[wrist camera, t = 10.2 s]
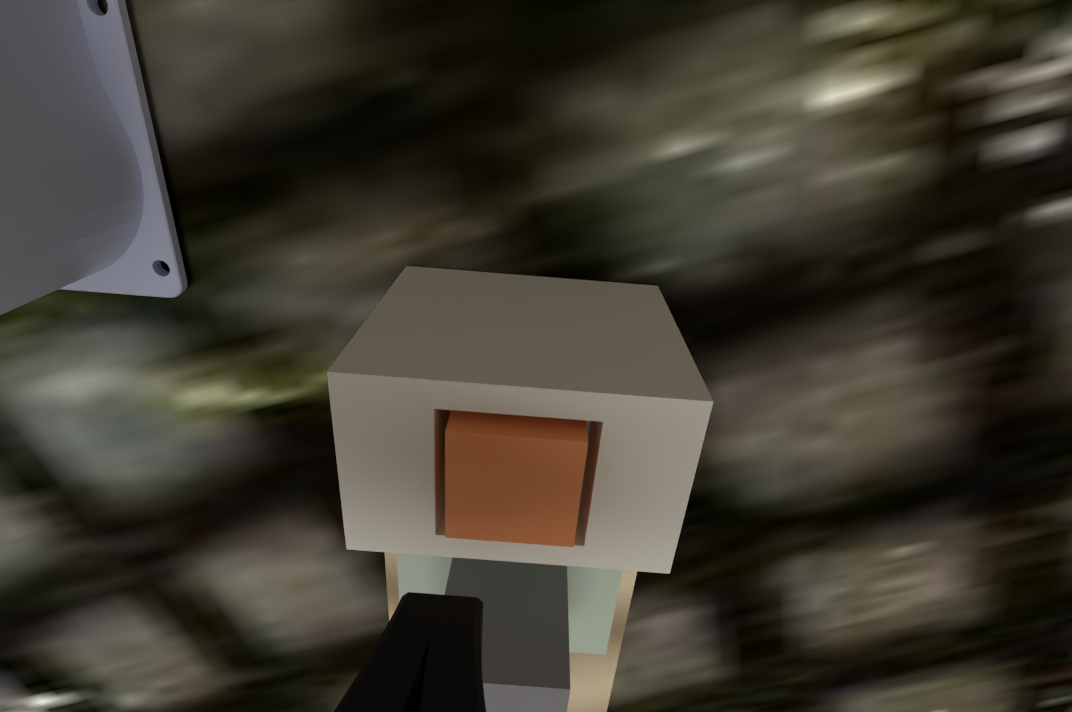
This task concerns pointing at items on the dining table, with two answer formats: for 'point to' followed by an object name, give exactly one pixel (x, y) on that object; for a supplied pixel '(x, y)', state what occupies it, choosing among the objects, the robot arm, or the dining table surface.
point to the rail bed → (586, 670)
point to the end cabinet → (519, 409)
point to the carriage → (524, 621)
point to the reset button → (513, 477)
